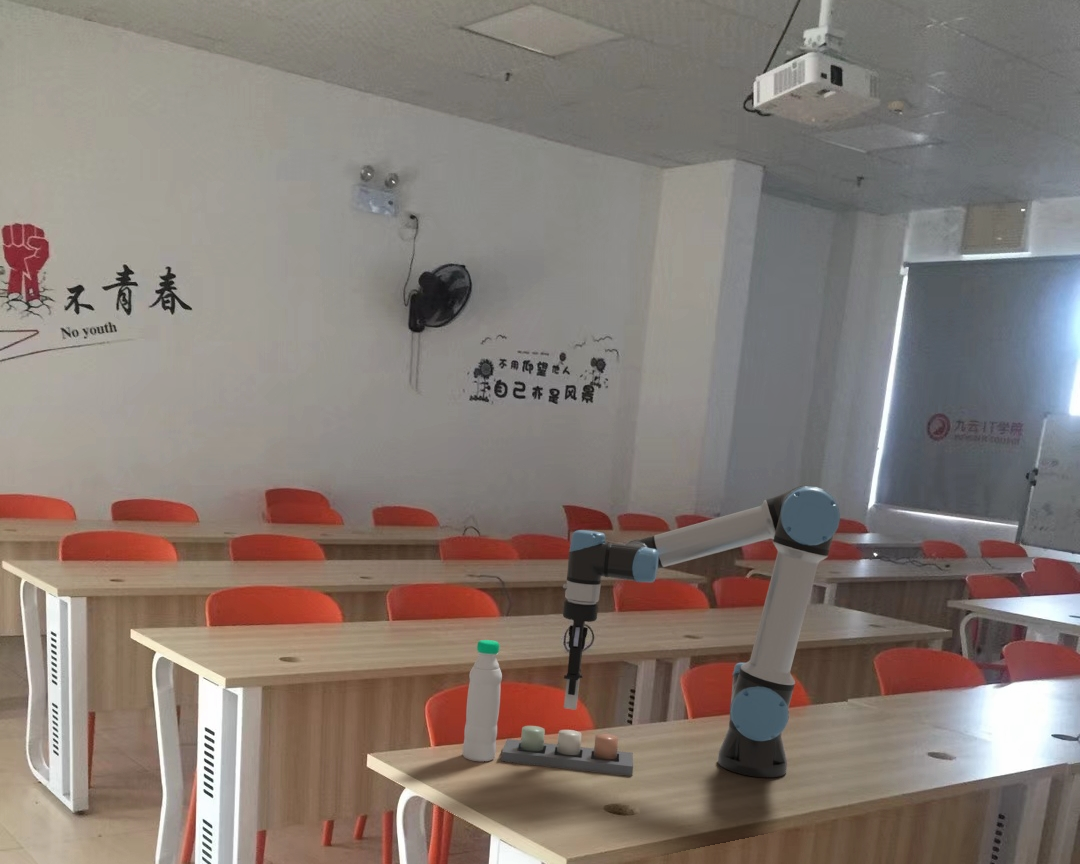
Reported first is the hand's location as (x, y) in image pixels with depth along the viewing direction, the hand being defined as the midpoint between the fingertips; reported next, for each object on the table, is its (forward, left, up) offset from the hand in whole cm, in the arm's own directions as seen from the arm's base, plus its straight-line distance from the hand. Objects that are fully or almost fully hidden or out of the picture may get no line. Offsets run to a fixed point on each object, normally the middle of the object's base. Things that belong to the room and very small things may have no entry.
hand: (570, 708), depth 232 cm
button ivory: (-1, +2, -9) cm, 9 cm away
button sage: (+8, +2, -9) cm, 12 cm away
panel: (-1, +2, -11) cm, 11 cm away
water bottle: (+18, +6, -11) cm, 22 cm away
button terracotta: (-9, +2, -9) cm, 12 cm away
